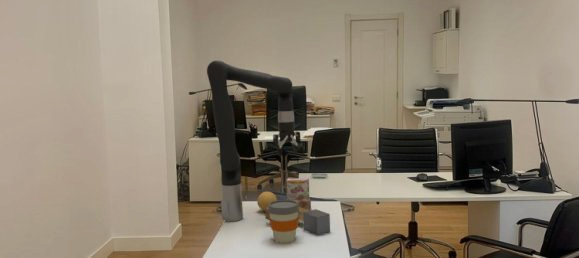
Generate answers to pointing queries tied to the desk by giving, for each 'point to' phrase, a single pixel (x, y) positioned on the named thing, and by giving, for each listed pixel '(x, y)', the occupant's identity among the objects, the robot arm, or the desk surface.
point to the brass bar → (301, 213)
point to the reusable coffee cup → (284, 220)
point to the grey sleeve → (316, 222)
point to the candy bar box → (297, 189)
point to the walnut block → (301, 203)
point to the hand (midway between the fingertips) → (287, 154)
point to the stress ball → (265, 200)
